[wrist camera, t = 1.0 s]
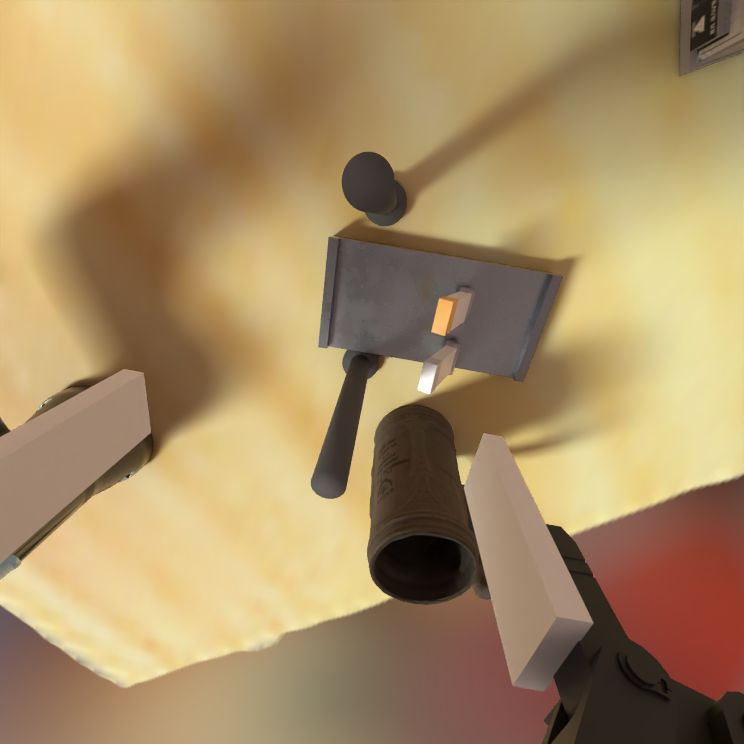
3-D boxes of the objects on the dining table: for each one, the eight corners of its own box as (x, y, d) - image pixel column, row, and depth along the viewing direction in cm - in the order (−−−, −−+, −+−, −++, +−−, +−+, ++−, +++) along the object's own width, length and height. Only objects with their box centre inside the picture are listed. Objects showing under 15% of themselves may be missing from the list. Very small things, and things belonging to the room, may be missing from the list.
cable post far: (341, 373, 44) (294, 503, 24) (345, 341, 42) (298, 453, 22) (375, 379, 44) (356, 514, 24) (381, 347, 42) (365, 464, 22)
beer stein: (356, 446, 48) (344, 589, 30) (395, 388, 44) (408, 515, 26) (446, 487, 52) (483, 638, 34) (490, 436, 47) (560, 578, 29)
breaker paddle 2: (441, 367, 41) (415, 391, 34) (449, 339, 39) (423, 358, 32) (454, 372, 40) (430, 397, 33) (462, 343, 38) (439, 363, 32)
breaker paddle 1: (454, 318, 38) (428, 334, 31) (462, 286, 37) (438, 295, 30) (468, 322, 37) (445, 339, 31) (477, 289, 36) (455, 299, 29)
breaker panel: (323, 339, 42) (318, 347, 40) (333, 235, 37) (328, 237, 35) (515, 371, 42) (523, 381, 40) (551, 272, 37) (562, 276, 35)
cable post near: (361, 222, 37) (316, 226, 16) (367, 175, 35) (324, 116, 15) (402, 229, 37) (406, 242, 16) (410, 182, 35) (426, 133, 15)
